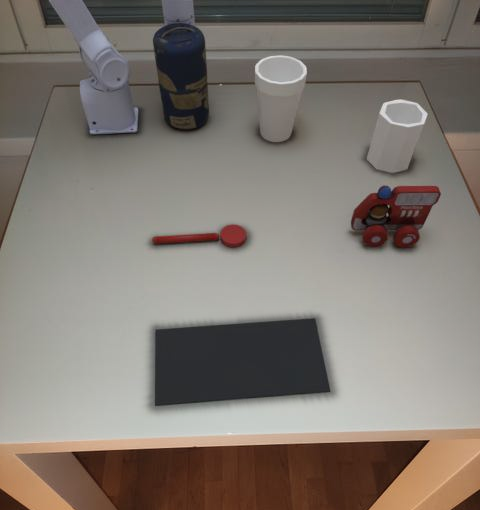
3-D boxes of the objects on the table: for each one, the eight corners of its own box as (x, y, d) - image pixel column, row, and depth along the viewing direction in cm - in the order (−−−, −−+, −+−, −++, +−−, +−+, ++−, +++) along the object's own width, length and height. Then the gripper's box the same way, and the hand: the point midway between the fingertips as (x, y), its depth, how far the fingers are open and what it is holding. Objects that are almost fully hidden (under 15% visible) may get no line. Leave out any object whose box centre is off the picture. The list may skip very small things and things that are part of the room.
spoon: (152, 252, 79) (151, 247, 78) (153, 233, 81) (152, 228, 80) (247, 246, 80) (247, 241, 79) (244, 227, 82) (244, 222, 81)
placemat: (155, 405, 64) (154, 404, 64) (155, 330, 70) (155, 329, 70) (330, 391, 65) (330, 390, 65) (314, 319, 72) (315, 318, 72)
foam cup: (247, 142, 95) (249, 79, 84) (258, 115, 100) (261, 52, 89) (294, 150, 93) (301, 87, 83) (302, 122, 98) (311, 59, 87)
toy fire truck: (346, 217, 84) (359, 169, 75) (416, 219, 83) (437, 171, 75) (350, 247, 80) (364, 200, 71) (423, 249, 80) (447, 202, 71)
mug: (414, 173, 90) (432, 127, 82) (369, 172, 90) (382, 126, 82) (403, 133, 97) (418, 87, 88) (361, 133, 97) (372, 87, 88)
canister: (210, 132, 97) (206, 41, 81) (163, 134, 96) (150, 43, 81) (208, 103, 102) (203, 13, 86) (163, 105, 101) (151, 14, 86)
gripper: (202, 33, 85) (207, 103, 96) (198, -6, 92) (203, 63, 104) (162, 35, 84) (172, 105, 96) (162, -4, 92) (171, 65, 104)
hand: (186, 84), depth 100 cm, fingers closed
